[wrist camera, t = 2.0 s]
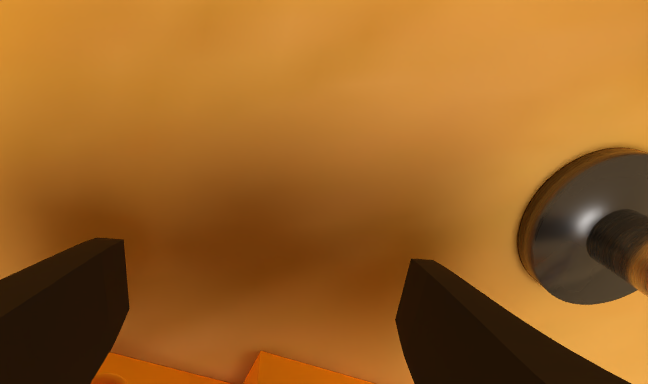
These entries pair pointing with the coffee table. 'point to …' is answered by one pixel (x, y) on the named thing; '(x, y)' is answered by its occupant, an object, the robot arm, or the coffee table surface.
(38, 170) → the coffee table surface
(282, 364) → the pipe clamp
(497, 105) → the coffee table surface
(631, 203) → the ball stud
